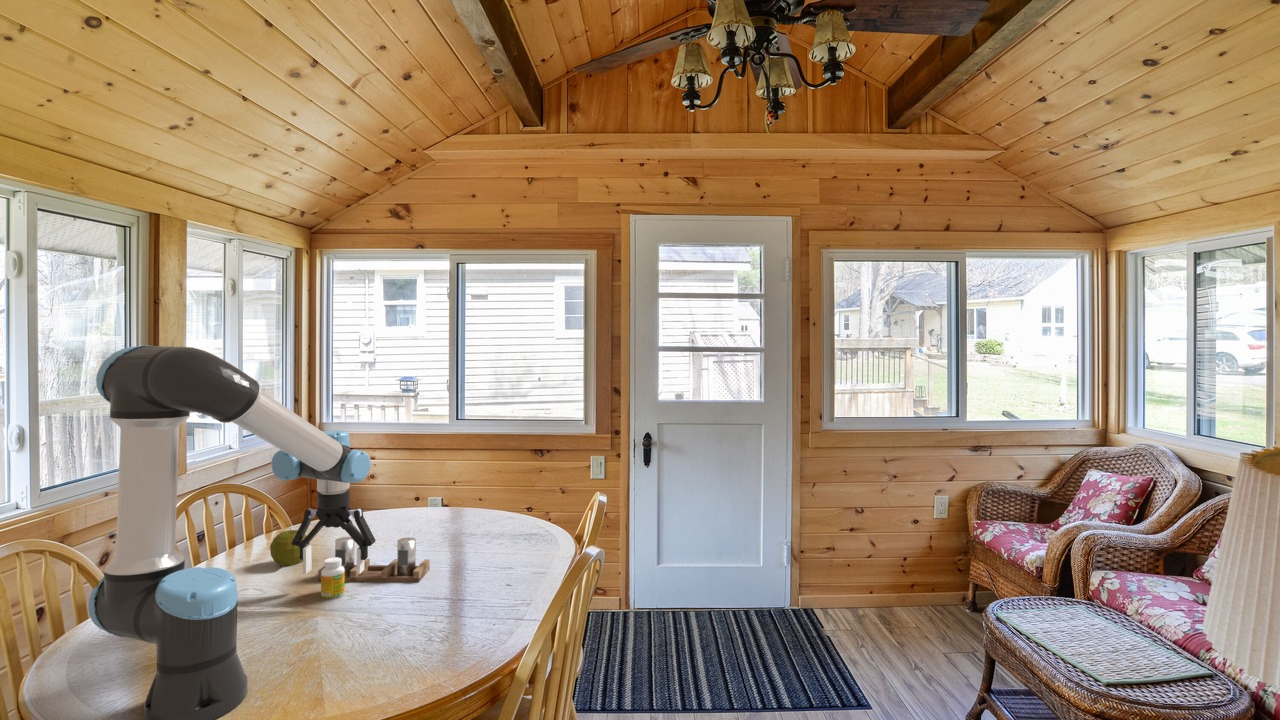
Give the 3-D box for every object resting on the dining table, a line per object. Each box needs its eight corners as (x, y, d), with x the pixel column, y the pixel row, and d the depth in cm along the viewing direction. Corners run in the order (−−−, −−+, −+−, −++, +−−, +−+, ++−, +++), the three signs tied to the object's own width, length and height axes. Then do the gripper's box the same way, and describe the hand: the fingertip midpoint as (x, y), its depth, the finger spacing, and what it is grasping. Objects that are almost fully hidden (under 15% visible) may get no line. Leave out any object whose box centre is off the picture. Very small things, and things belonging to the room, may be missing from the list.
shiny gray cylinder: (348, 579, 163) (348, 543, 162) (330, 579, 163) (330, 543, 162) (357, 571, 168) (357, 536, 168) (340, 571, 168) (340, 536, 168)
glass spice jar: (411, 580, 163) (411, 543, 163) (393, 579, 163) (393, 543, 163) (417, 572, 169) (418, 537, 168) (400, 572, 168) (401, 537, 168)
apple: (261, 569, 171) (262, 531, 171) (289, 557, 181) (289, 521, 181) (290, 572, 169) (291, 534, 169) (316, 561, 179) (317, 524, 178)
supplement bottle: (334, 602, 151) (334, 564, 150) (315, 600, 152) (316, 562, 151) (348, 593, 156) (349, 557, 156) (330, 591, 157) (331, 555, 157)
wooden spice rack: (418, 585, 162) (418, 571, 162) (318, 585, 161) (318, 570, 161) (429, 573, 171) (429, 559, 171) (334, 572, 170) (334, 558, 170)
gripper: (388, 487, 157) (388, 566, 158) (292, 486, 156) (293, 565, 157) (376, 494, 150) (376, 577, 151) (275, 494, 149) (276, 577, 150)
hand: (334, 571), depth 154 cm, fingers open, 13 cm apart
